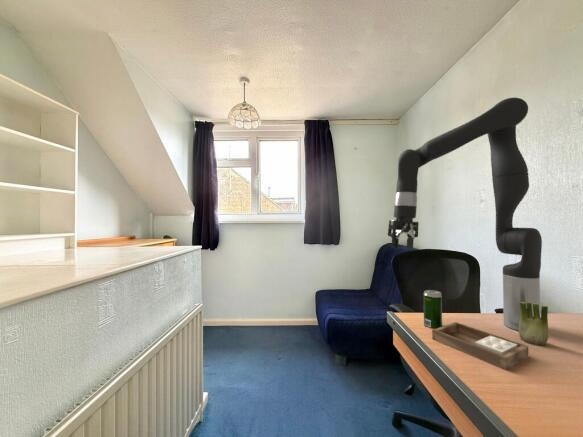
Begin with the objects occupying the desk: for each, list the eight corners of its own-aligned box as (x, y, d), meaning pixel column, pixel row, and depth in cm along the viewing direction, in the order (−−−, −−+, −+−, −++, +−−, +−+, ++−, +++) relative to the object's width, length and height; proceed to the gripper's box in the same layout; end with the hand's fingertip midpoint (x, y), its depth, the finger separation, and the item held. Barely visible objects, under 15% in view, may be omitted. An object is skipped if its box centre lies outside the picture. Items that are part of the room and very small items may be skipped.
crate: (455, 333, 82) (455, 322, 82) (528, 360, 66) (528, 346, 66) (432, 341, 76) (432, 330, 76) (505, 373, 60) (505, 358, 60)
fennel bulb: (550, 347, 72) (550, 304, 72) (541, 351, 70) (540, 307, 70) (525, 338, 77) (524, 299, 78) (515, 341, 76) (515, 301, 76)
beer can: (437, 332, 82) (436, 295, 82) (420, 327, 86) (420, 291, 87) (445, 328, 85) (444, 292, 85) (429, 323, 89) (428, 289, 90)
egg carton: (490, 346, 71) (490, 332, 71) (517, 356, 66) (517, 341, 66) (475, 353, 68) (474, 339, 68) (502, 364, 62) (502, 349, 62)
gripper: (408, 206, 102) (405, 247, 102) (384, 203, 95) (381, 247, 95) (426, 206, 96) (423, 250, 96) (401, 203, 88) (398, 250, 89)
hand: (402, 248), depth 95 cm, fingers open, 8 cm apart
